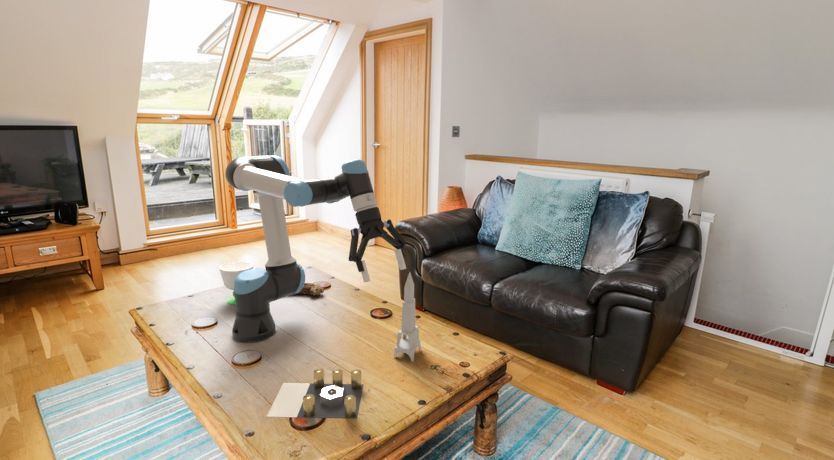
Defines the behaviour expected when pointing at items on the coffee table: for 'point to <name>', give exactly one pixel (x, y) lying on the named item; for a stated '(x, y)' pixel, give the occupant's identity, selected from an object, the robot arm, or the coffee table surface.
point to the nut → (331, 396)
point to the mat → (292, 401)
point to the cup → (233, 274)
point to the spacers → (337, 381)
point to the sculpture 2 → (408, 323)
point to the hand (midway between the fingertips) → (385, 275)
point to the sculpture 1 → (311, 289)
